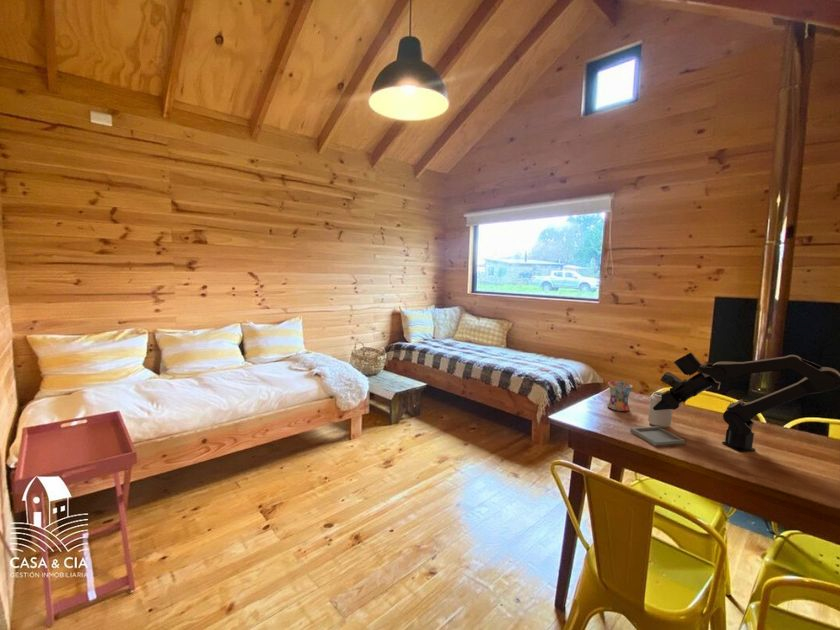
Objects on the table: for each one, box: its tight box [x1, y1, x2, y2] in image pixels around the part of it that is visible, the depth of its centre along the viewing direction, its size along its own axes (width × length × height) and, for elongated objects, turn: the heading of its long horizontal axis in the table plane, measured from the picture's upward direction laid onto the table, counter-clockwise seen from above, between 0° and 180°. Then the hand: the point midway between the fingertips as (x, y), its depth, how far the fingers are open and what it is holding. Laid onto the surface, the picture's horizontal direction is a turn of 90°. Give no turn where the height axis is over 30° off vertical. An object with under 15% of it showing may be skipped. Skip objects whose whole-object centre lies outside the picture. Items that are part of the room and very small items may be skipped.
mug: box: [606, 380, 634, 412], centre depth 164 cm, size 12×9×11 cm
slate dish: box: [630, 425, 686, 448], centre depth 136 cm, size 12×12×2 cm
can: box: [647, 391, 674, 429], centre depth 147 cm, size 8×8×12 cm
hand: (656, 406), depth 148 cm, fingers closed on can, 7 cm apart
